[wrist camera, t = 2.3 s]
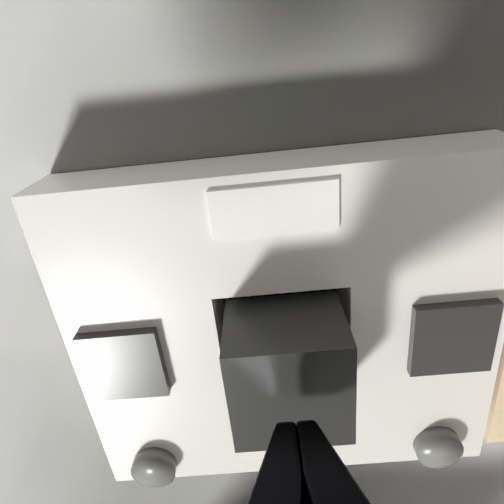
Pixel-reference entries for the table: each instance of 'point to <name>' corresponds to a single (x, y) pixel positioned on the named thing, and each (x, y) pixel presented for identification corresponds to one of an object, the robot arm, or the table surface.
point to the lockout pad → (496, 408)
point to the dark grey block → (288, 367)
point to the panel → (279, 290)
